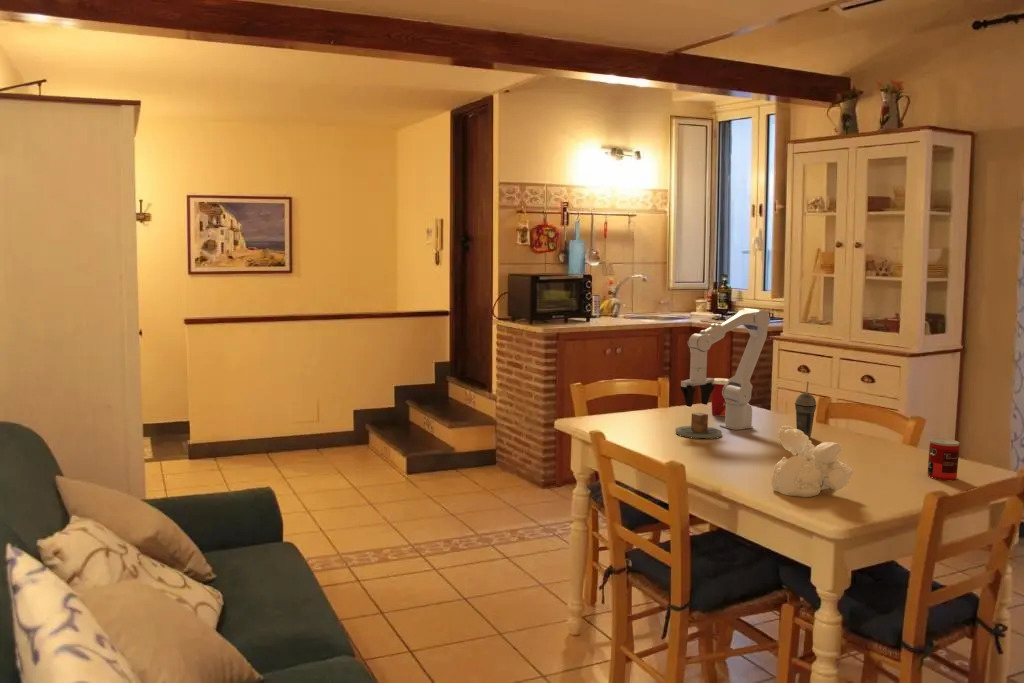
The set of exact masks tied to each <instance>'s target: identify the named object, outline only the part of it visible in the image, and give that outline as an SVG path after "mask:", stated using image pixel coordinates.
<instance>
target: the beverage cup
mask: <svg viewBox="0 0 1024 683" xmlns="http://www.w3.org/2000/svg"><path fill="white" fill-rule="evenodd" d="M809 382H810V381H806V390H805V391H806V392H805V393H800V394H799V395H798V396H797V397H796V398H795V403H794V407H795V418H796V420H795V421H796V423H795V424H796V429H798V430H801V431H802V432H804V434H805V435H807V436H808V437H809V439H811V438H812V437H811V436H812V431H813V424H814V417H815V412H816V409H817V401H816V398H815V397H814V396H813V395H812V394H811V393H809Z"/></svg>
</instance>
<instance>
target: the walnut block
mask: <svg viewBox="0 0 1024 683" xmlns="http://www.w3.org/2000/svg"><path fill="white" fill-rule="evenodd" d="M708 424H709V414H708V413H703V412H693V413H691V423H690V426H691V430H692V431H696V432H706V431H707V429H708V427H709V425H708Z"/></svg>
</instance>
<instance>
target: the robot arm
mask: <svg viewBox="0 0 1024 683" xmlns="http://www.w3.org/2000/svg"><path fill="white" fill-rule="evenodd" d="M770 322H771V317H770V315H769V313H768V311H766V310H765V309H758V308H757V309H756V308H750V307H744V308H743V309H740V310H738V311H737V313H735V315H733V316H731V317H730V318H728V319H727V320H725V321H724V322H723V323H720V324H719V323H711V324H710V326H708V328H705V329H702V330H700V332H699V333H693V334H691V335H690V337H689V338H688V340H687V346H688V348H689V353H690V362H689V363H690V364H689V365H690V366H689V368H690V369H689V379H685V380H680V390H681V392H682V394H683V396H684V402H685V405H686V407H692V406H693V401H694V395H695V391H696V388H695V386H699V388H700V392H701V396H700V397H701V398H700V400H701V404H702V405H706V406H707V405H708V403H709V400H710V398H711V397H710V396H711V395H712V391H713V389H714V386H715V385H712V384H714V378H715V377H714V378H713V377H707V369H708V368H707V367H708V351H709V350H710V349H711V347H712V345H714V344H716V342H718V341H720V340H722V339H724V338H725V336H726V333H727V332H728V333H729V332H730V331H732V330H734V329H735V328H738V327H740V326H742V325H743V327H744V328H745V329H746V330H747V332H748V333H749V338H748V341H747V344H746V346H745V349H744V352H743V354H742V356H741V358H740V361H739V365H738V366H737V369H736V371H735V375H733V376H731V377H730V378H728V379H729V380H728V383H727V384H726V385H725V386H724V388H723V390H722V395H723V397H724V399H725V402H726V413H725V416H724V424H723V423H722V424H719V426H720V427H723V428H726V429H730V430H734V431H737V430H745V428H746V429H752V427H753V428H754V425H752V423H753V407H752V405H751V404H750V403H749V402H750V400H751V398H752V390H753V387H754V386H753V384H752V383H751V378H752V376H753V373H754V370H755V368H756V365H757V362H758V360H759V358H760V354H762V353H761V352H762V350H763V347H764V345H765V342H766V340H767V336H768V328H769V325H770Z"/></svg>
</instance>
